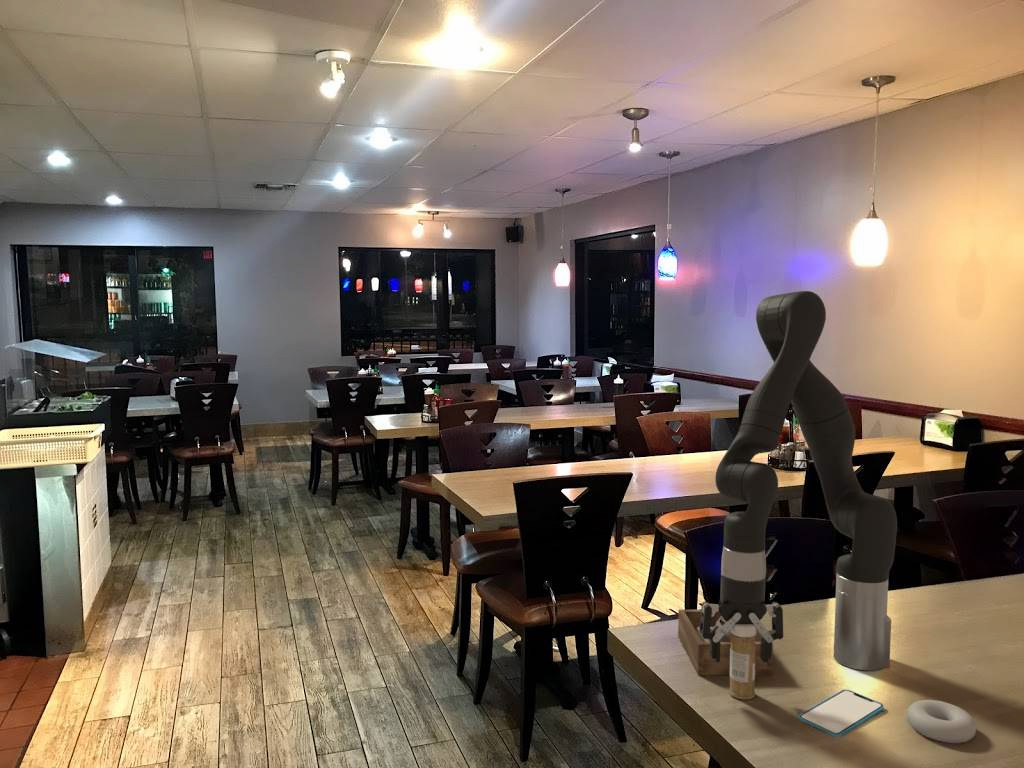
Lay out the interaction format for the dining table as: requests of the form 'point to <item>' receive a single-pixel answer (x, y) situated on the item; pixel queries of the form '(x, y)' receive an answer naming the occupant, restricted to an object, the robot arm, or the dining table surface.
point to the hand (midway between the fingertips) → (740, 660)
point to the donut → (941, 721)
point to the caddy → (700, 647)
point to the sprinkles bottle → (742, 661)
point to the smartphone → (841, 712)
